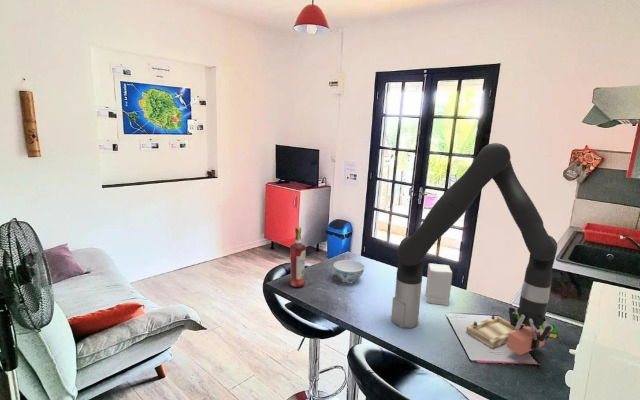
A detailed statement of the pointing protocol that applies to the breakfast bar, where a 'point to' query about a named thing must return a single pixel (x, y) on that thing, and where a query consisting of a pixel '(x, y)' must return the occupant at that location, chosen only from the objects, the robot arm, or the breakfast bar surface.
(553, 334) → the dish sponge
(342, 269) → the chinaware
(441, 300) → the supplement box
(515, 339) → the salmon pink brick
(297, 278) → the liquor
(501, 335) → the wooden tray
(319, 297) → the breakfast bar surface
